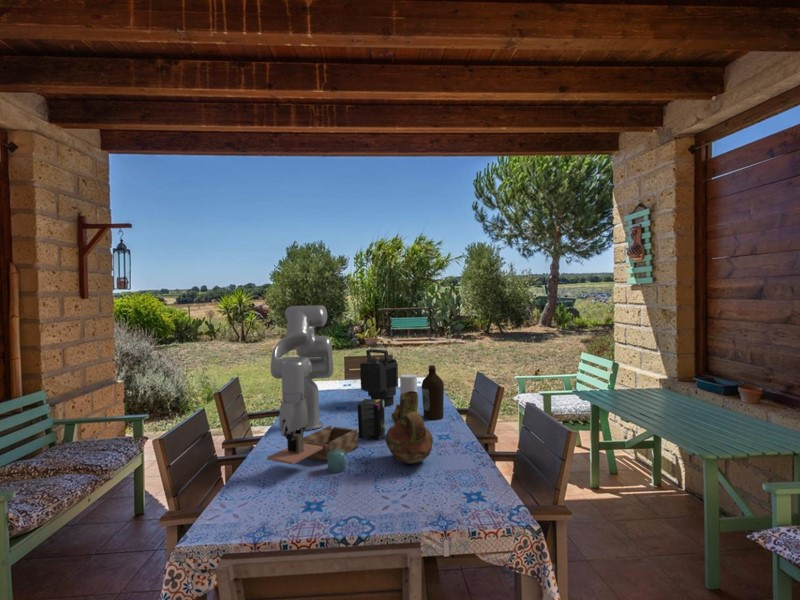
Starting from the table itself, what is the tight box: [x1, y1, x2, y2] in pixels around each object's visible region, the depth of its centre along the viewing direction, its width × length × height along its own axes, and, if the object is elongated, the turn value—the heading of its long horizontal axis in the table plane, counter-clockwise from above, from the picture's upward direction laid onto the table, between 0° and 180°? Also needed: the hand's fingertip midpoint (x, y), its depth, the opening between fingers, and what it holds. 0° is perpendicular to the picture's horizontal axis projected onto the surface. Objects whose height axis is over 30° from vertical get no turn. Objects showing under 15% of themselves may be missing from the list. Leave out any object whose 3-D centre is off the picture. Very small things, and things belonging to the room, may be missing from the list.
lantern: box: [359, 348, 399, 408], centre depth 249 cm, size 15×18×30 cm
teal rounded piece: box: [327, 449, 346, 474], centre depth 161 cm, size 6×6×6 cm
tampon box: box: [357, 398, 386, 441], centre depth 197 cm, size 11×9×15 cm
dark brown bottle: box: [421, 364, 445, 421], centre depth 222 cm, size 11×11×25 cm
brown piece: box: [266, 433, 323, 465], centre depth 160 cm, size 16×11×7 cm
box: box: [303, 424, 359, 464], centre depth 178 cm, size 18×13×7 cm
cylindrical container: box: [399, 373, 419, 412], centre depth 197 cm, size 7×7×25 cm
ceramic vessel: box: [385, 391, 434, 464], centre depth 167 cm, size 17×26×25 cm, turn 23°
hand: (295, 449), depth 160 cm, fingers closed on brown piece
